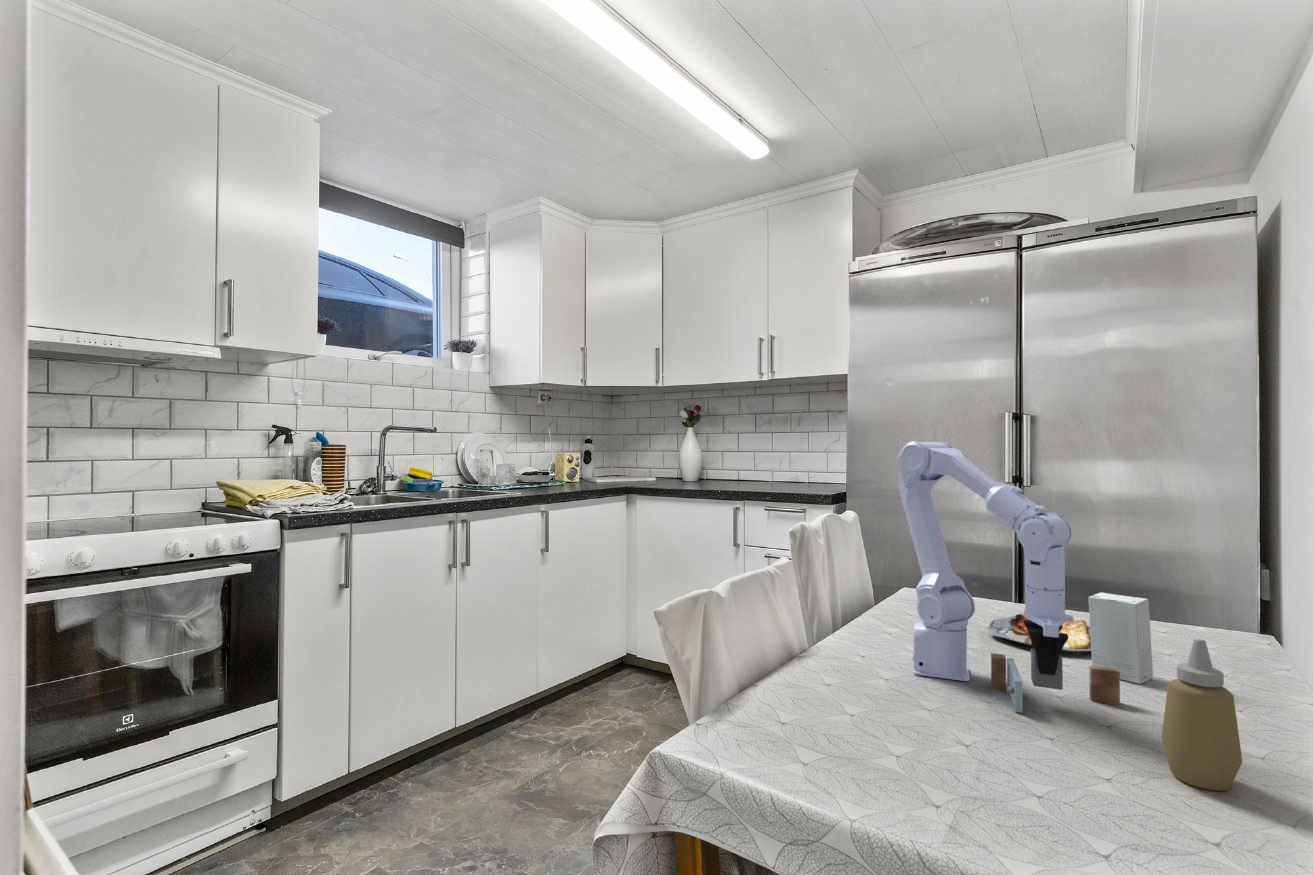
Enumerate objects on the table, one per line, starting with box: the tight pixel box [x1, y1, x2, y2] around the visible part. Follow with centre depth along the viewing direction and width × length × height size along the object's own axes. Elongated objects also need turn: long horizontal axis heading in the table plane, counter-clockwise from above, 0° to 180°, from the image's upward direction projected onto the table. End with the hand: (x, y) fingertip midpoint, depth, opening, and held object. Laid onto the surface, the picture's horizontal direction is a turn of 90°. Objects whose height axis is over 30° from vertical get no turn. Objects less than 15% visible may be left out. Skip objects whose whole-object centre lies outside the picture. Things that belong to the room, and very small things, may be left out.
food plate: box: [987, 613, 1091, 655], centre depth 145 cm, size 25×23×4 cm
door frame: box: [990, 652, 1121, 706], centre depth 113 cm, size 19×2×6 cm, turn 66°
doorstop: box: [1030, 648, 1064, 691], centre depth 108 cm, size 4×4×5 cm
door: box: [1006, 657, 1024, 714], centre depth 111 cm, size 12×2×5 cm, turn 157°
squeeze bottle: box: [1160, 638, 1243, 792], centre depth 84 cm, size 8×8×18 cm
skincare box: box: [1088, 591, 1154, 685], centre depth 123 cm, size 8×6×15 cm
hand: (1045, 669), depth 108 cm, fingers closed on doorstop, 4 cm apart
